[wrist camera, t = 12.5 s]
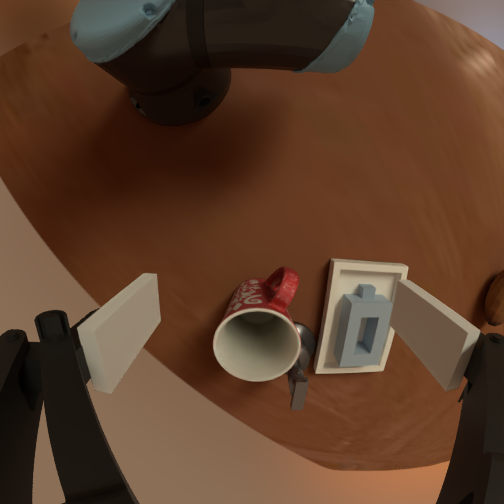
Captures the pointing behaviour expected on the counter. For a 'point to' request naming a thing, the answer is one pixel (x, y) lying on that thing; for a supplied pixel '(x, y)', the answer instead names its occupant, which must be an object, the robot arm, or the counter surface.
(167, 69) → the robot arm
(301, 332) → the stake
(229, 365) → the mug
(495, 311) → the potato
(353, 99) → the counter surface
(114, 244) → the counter surface
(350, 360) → the windowed blue block
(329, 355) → the tray
